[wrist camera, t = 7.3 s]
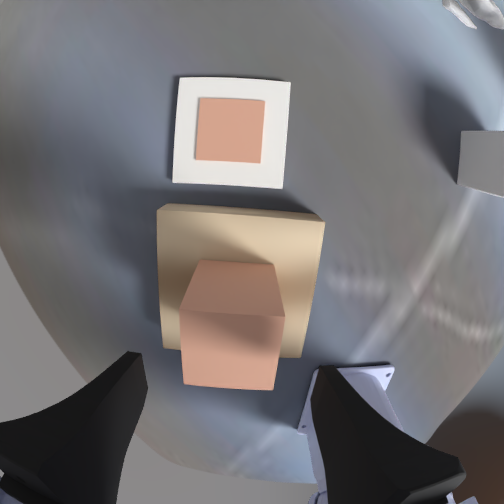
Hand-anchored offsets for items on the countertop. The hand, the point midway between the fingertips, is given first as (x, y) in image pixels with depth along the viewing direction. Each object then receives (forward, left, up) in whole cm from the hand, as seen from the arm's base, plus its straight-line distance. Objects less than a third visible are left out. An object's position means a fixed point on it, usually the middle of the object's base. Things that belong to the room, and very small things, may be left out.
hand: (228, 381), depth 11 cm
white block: (+11, -19, -10) cm, 24 cm away
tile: (+10, +1, -10) cm, 14 cm away
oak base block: (0, 0, -11) cm, 11 cm away
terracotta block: (0, 0, -8) cm, 8 cm away
